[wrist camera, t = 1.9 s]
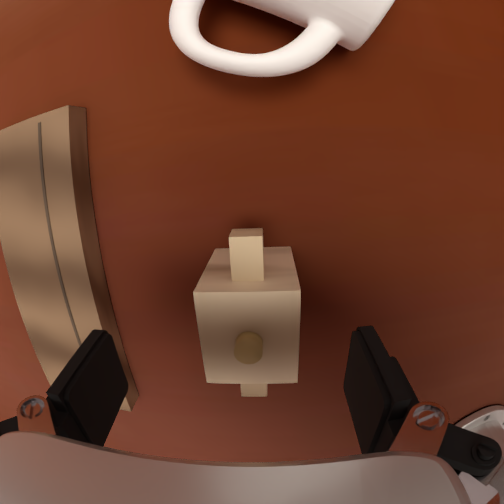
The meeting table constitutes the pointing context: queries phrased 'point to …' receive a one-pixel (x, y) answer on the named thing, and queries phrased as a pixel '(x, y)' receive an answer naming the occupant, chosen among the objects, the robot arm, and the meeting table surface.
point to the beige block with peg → (249, 314)
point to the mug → (293, 54)
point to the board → (54, 239)
